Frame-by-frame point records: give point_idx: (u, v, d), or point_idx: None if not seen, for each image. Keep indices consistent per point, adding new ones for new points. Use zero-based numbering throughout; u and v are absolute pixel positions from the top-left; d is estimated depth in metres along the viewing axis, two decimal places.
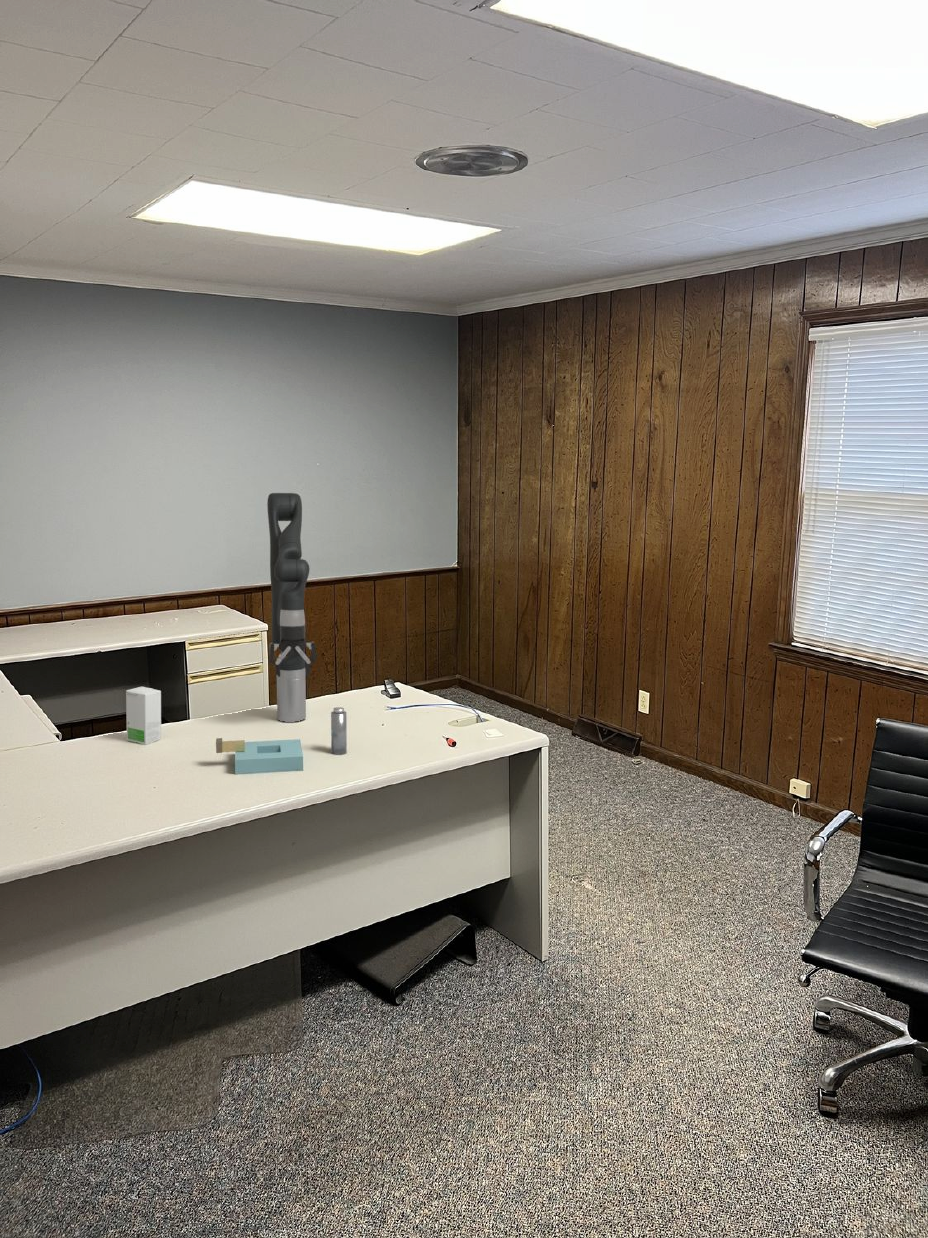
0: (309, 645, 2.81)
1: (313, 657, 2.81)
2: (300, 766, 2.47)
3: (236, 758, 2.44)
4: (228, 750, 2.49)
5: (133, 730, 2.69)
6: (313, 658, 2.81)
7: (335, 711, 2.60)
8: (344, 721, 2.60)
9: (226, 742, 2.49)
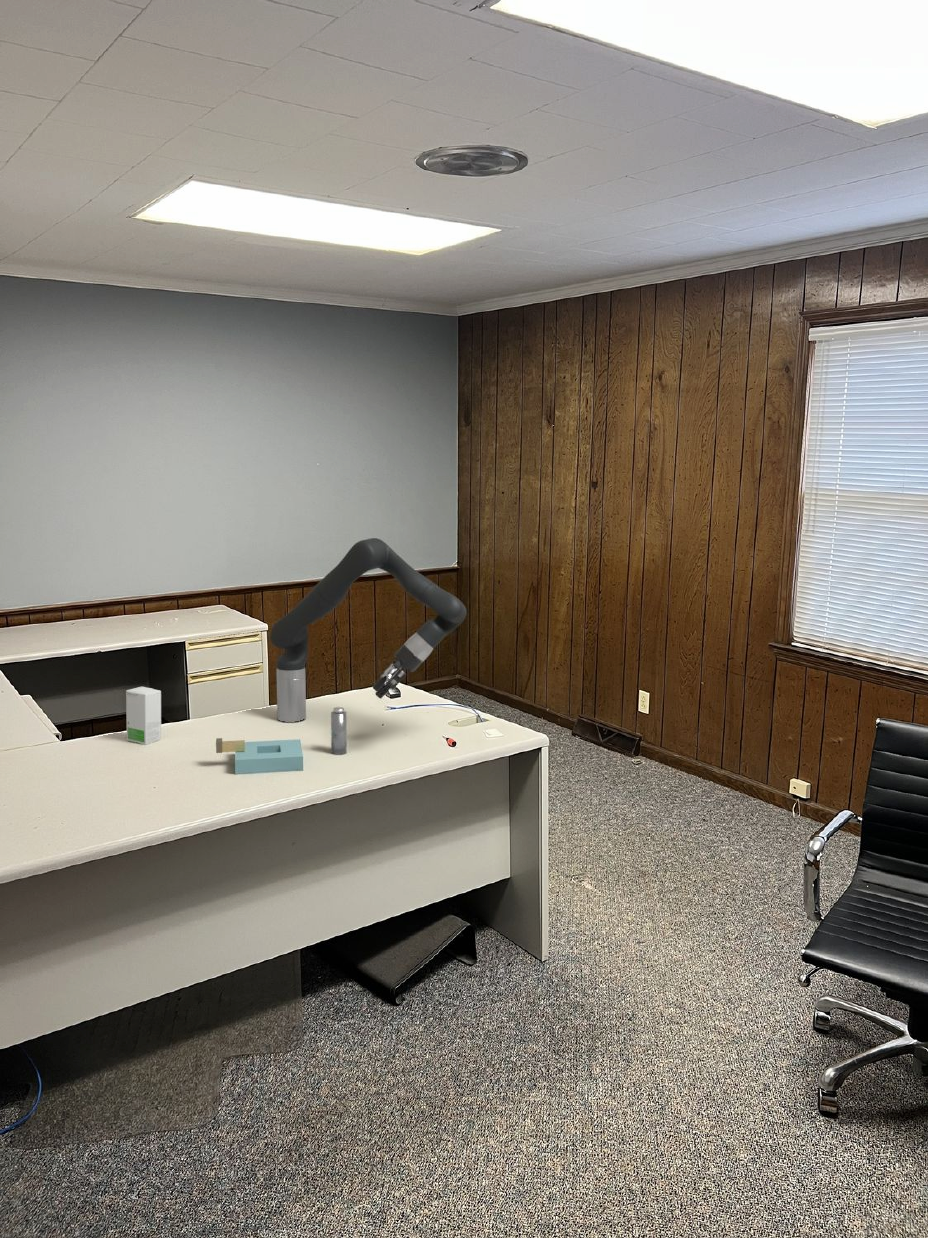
0: None
1: None
2: (300, 766, 2.47)
3: (236, 758, 2.44)
4: (228, 750, 2.49)
5: (133, 730, 2.69)
6: None
7: (335, 711, 2.60)
8: (344, 721, 2.60)
9: (226, 742, 2.49)
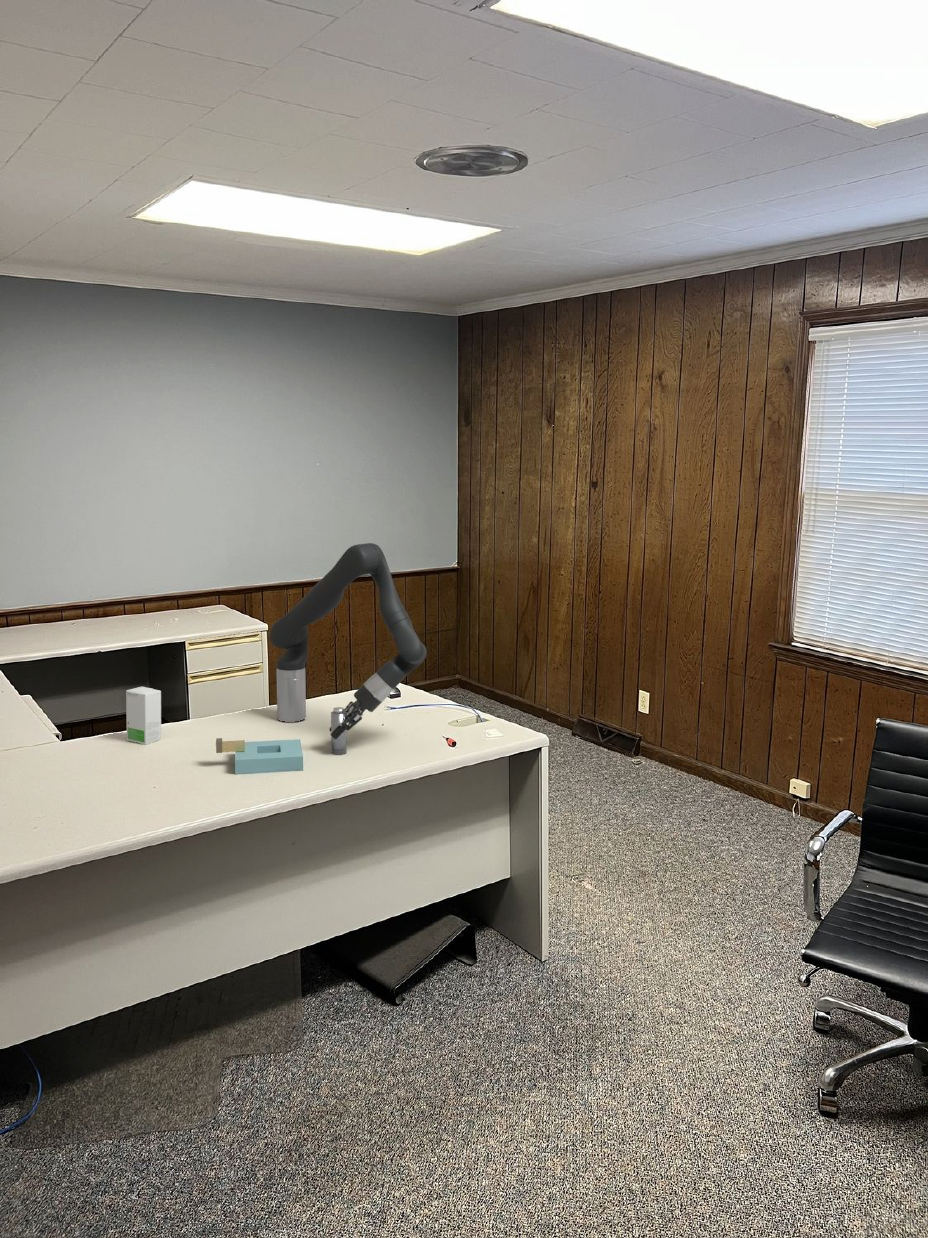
0: None
1: None
2: (300, 766, 2.47)
3: (236, 758, 2.44)
4: (228, 750, 2.49)
5: (133, 730, 2.69)
6: None
7: (335, 711, 2.60)
8: None
9: (226, 742, 2.49)
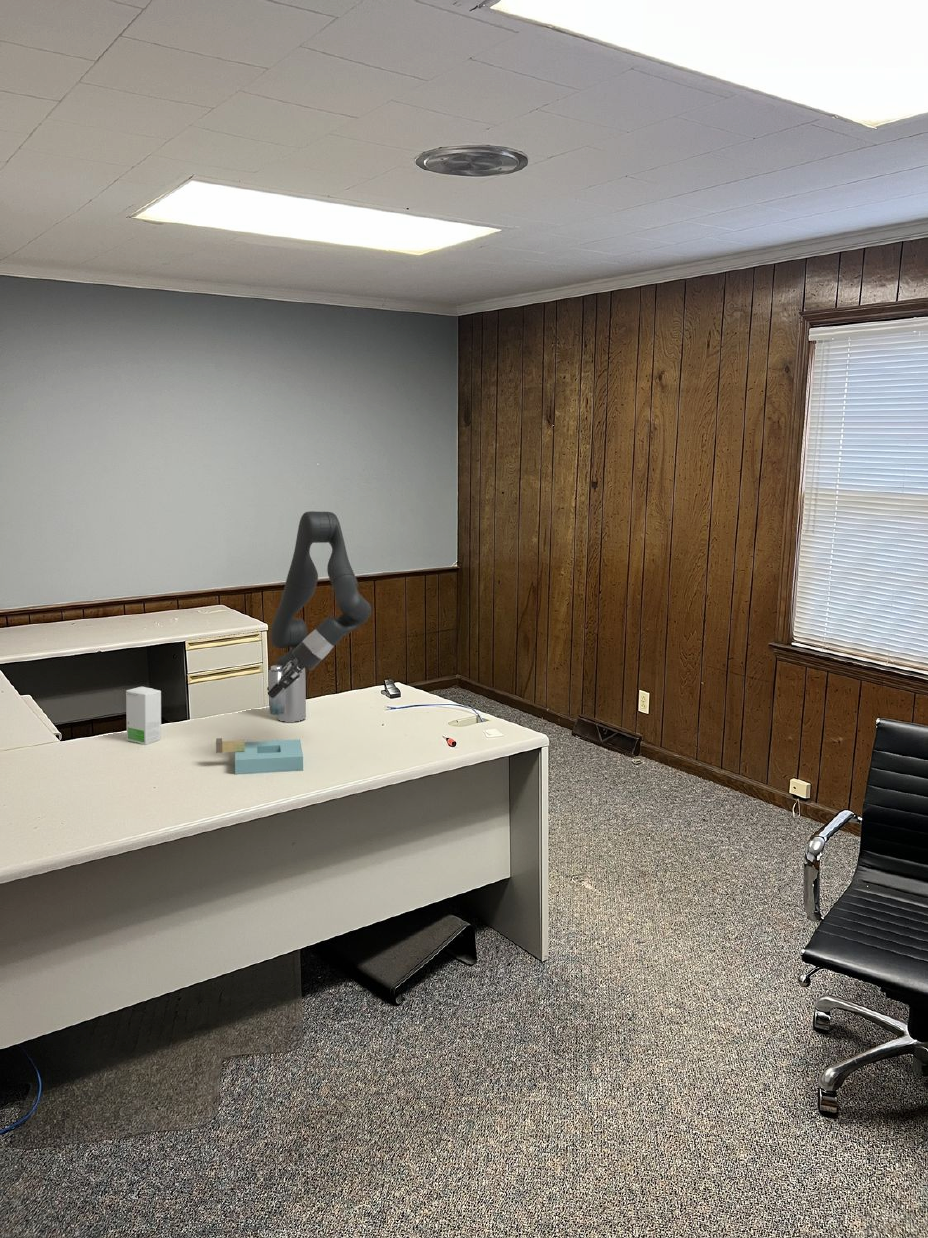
0: None
1: None
2: (300, 766, 2.47)
3: (236, 758, 2.44)
4: (228, 750, 2.49)
5: (133, 730, 2.69)
6: None
7: (272, 669, 2.49)
8: None
9: (226, 742, 2.49)
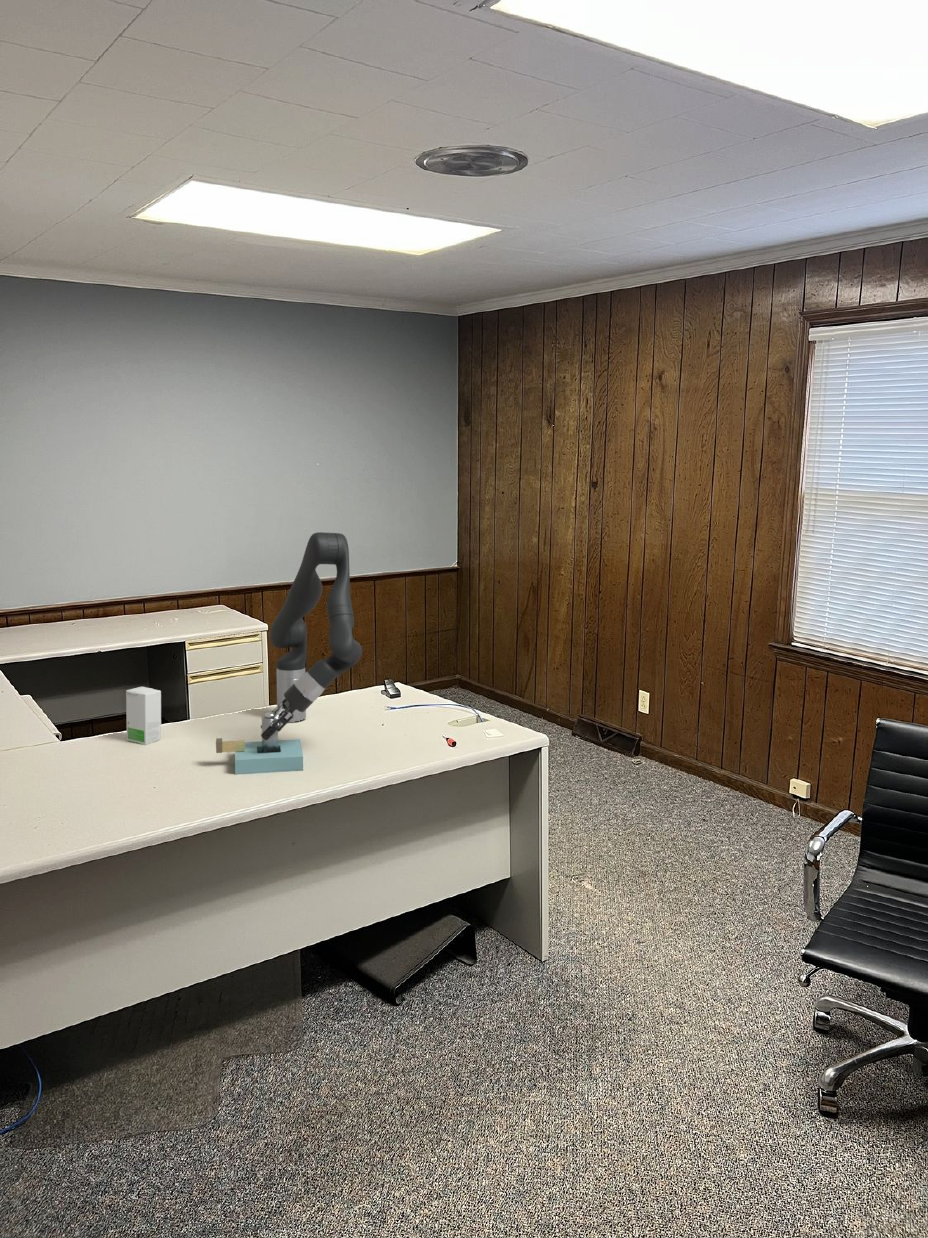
0: None
1: None
2: (300, 766, 2.47)
3: (236, 758, 2.44)
4: (228, 750, 2.49)
5: (133, 730, 2.69)
6: None
7: (266, 716, 2.50)
8: None
9: (226, 742, 2.49)
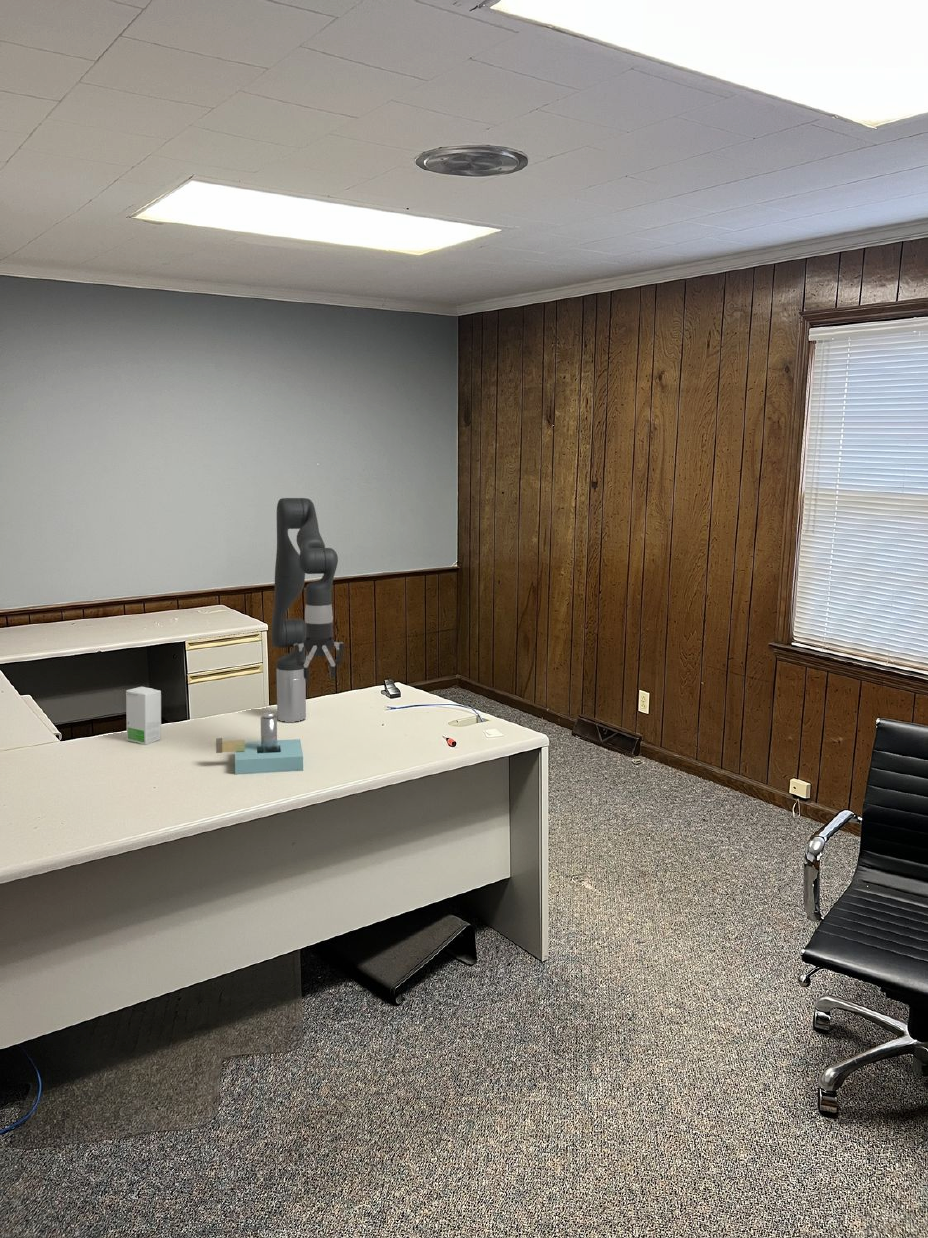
0: (337, 645, 2.52)
1: (338, 659, 2.52)
2: (300, 766, 2.47)
3: (236, 758, 2.44)
4: (228, 750, 2.49)
5: (133, 730, 2.69)
6: (338, 660, 2.52)
7: (264, 716, 2.50)
8: (274, 726, 2.50)
9: (226, 742, 2.49)
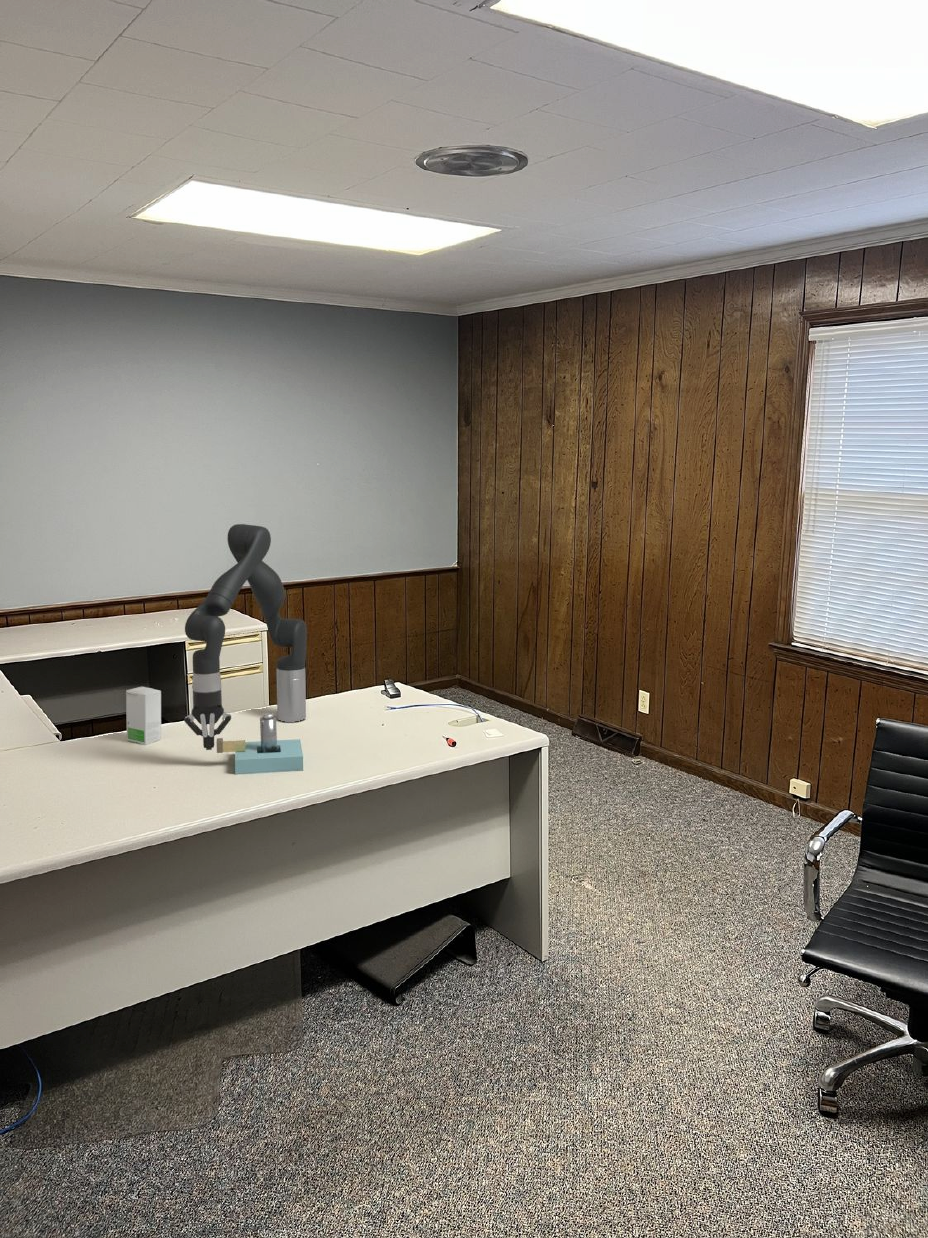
0: (224, 716, 2.48)
1: (217, 729, 2.47)
2: (300, 766, 2.47)
3: (236, 758, 2.44)
4: (229, 750, 2.49)
5: (133, 730, 2.69)
6: (217, 731, 2.47)
7: (263, 717, 2.49)
8: (273, 727, 2.50)
9: (227, 742, 2.49)
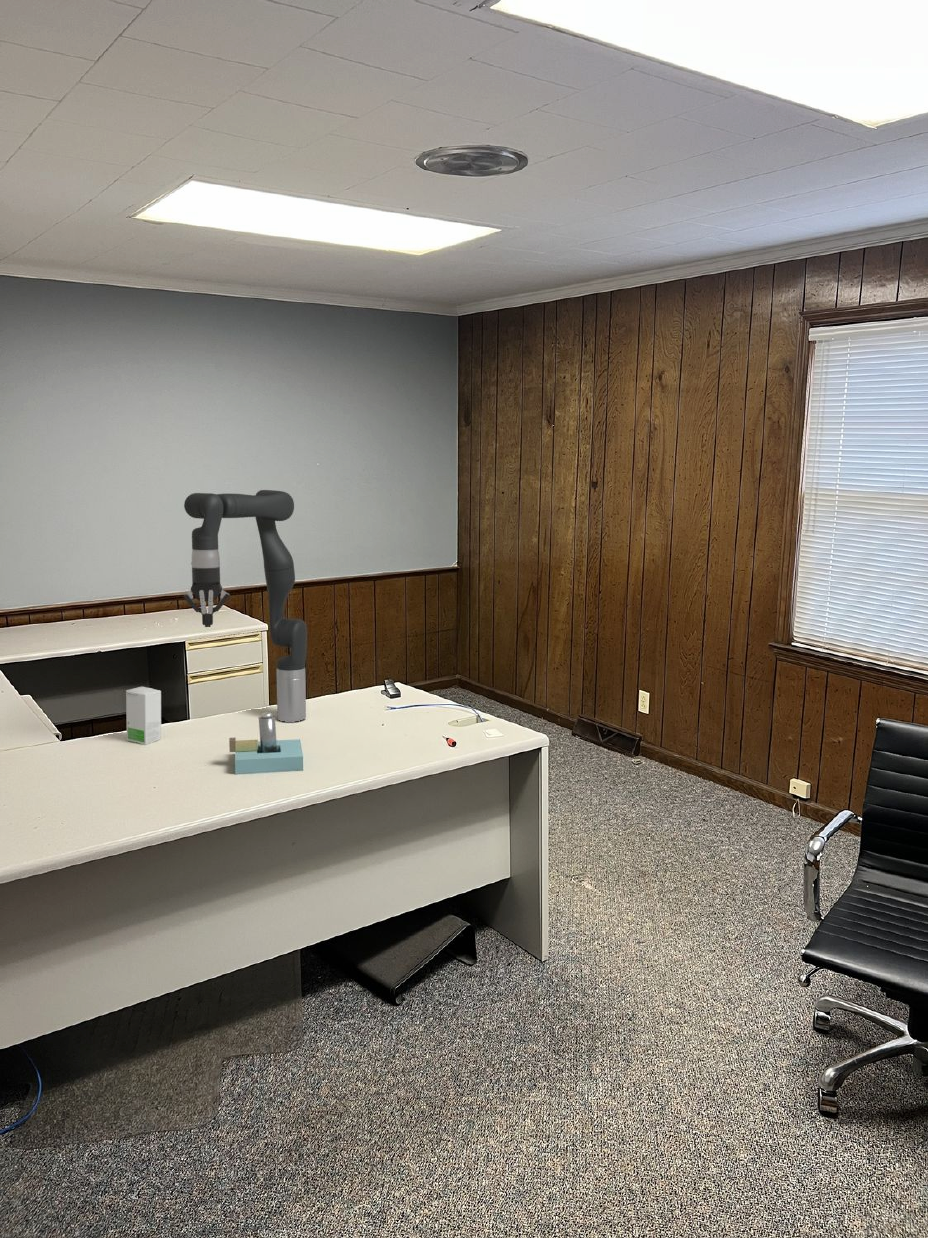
0: (223, 594, 2.54)
1: (215, 607, 2.53)
2: (300, 766, 2.47)
3: (236, 758, 2.44)
4: (241, 749, 2.50)
5: (133, 730, 2.69)
6: (215, 608, 2.53)
7: (262, 716, 2.50)
8: (271, 726, 2.50)
9: (239, 742, 2.50)
